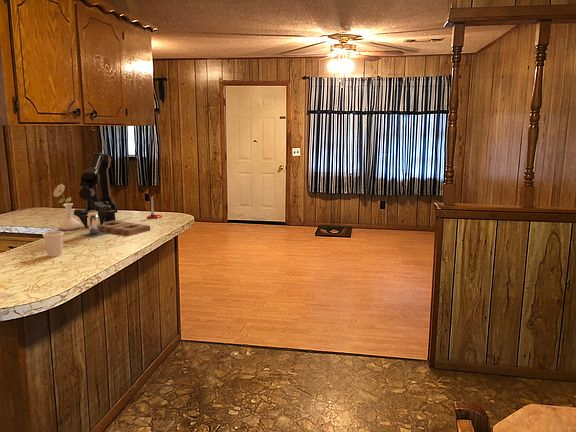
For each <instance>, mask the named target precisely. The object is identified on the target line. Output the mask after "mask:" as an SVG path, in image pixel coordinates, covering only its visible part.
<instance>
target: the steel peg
mask: <svg viewBox="0 0 576 432" xmlns="http://www.w3.org/2000/svg"><path fill="white" fill-rule="evenodd" d="M87 215H88V218H87V221H88V228H89V229H88V231H89V232H90V235H99V234H100V232H101V231H99V223H100V221H99V216H98V213H97V214H95V213H94V214H92V213H91V214H87ZM89 232H88V233H89Z"/></svg>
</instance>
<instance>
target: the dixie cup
mask: <svg viewBox="0 0 576 432" xmlns="http://www.w3.org/2000/svg"><path fill="white" fill-rule="evenodd" d="M41 235H42V236H43V237H42V238H43V241H44V245H45V246H44V247H45V250H46V254H47V257H49V256H50V258H55V256H57V257H61V256H63V242H64V239H63V238H64V231H62V230H49V231H45V232H43V233H42V234H41ZM60 255H61V256H60Z"/></svg>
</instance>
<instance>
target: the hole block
mask: <svg viewBox="0 0 576 432" xmlns="http://www.w3.org/2000/svg"><path fill="white" fill-rule="evenodd" d="M115 220H116V219H115ZM115 220H112V221H108V222H103V225H100V222H99V231H100V232H106V233H110V234H111V233H113V234H118V235H123V236H124V235H125V236H130V237H131V236H133V235H137V234H141V233H145V232H151V225H149V224H141V223H135V222H129V221H122V220H121V221H120V220H116V221H115Z"/></svg>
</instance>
